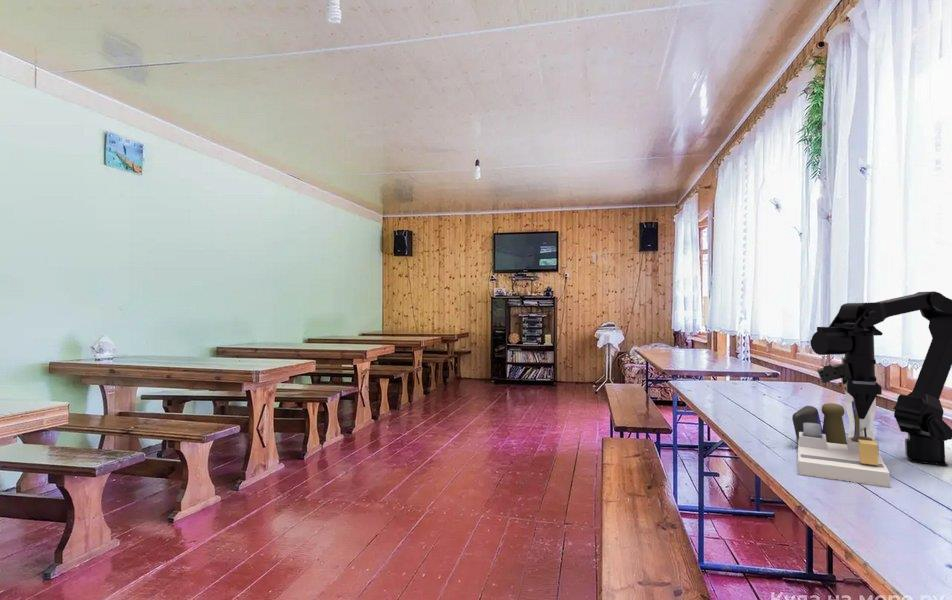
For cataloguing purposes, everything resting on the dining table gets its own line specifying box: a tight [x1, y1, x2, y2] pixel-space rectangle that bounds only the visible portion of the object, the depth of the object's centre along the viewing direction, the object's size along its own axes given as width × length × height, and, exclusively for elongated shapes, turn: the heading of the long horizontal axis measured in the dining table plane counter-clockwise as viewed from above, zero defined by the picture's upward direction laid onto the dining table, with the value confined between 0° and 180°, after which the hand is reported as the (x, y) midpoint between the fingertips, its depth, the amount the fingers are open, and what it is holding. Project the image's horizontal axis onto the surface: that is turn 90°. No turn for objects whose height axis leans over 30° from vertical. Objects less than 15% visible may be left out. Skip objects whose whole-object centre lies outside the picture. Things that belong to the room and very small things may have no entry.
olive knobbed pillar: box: [821, 402, 847, 445], centre depth 136 cm, size 6×6×11 cm
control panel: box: [797, 432, 891, 488], centre depth 116 cm, size 16×22×6 cm
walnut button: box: [853, 436, 872, 442], centre depth 118 cm, size 4×4×3 cm
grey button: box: [803, 423, 822, 438], centre depth 124 cm, size 4×4×3 cm
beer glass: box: [844, 389, 877, 440], centre depth 140 cm, size 7×7×15 cm
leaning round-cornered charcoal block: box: [791, 405, 823, 443], centre depth 135 cm, size 16×5×9 cm, turn 135°
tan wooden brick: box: [858, 439, 878, 465], centre depth 108 cm, size 3×4×4 cm
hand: (861, 418), depth 118 cm, fingers closed
